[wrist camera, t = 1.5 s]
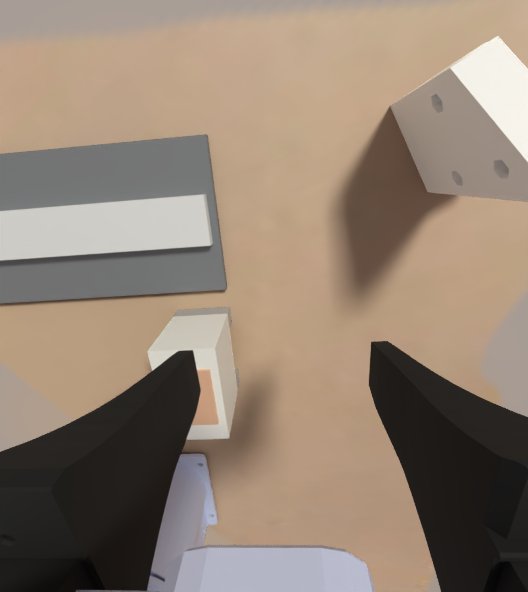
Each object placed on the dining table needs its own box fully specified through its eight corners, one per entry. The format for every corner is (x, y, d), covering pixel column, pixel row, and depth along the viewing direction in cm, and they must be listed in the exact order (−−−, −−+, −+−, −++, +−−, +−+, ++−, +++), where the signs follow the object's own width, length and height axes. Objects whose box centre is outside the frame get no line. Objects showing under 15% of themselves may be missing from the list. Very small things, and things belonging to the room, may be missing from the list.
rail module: (239, 381, 26) (228, 441, 20) (192, 383, 26) (168, 442, 20) (229, 306, 23) (214, 350, 17) (178, 309, 23) (146, 353, 18)
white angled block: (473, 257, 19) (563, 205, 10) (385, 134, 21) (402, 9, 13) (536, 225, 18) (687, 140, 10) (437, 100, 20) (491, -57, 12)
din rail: (227, 287, 23) (224, 293, 21) (-3, 301, 24) (-17, 307, 23) (207, 135, 19) (203, 132, 18) (-62, 161, 20) (-83, 159, 19)
